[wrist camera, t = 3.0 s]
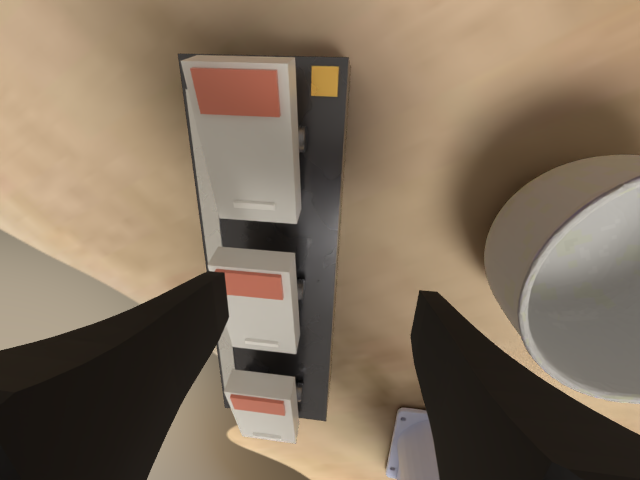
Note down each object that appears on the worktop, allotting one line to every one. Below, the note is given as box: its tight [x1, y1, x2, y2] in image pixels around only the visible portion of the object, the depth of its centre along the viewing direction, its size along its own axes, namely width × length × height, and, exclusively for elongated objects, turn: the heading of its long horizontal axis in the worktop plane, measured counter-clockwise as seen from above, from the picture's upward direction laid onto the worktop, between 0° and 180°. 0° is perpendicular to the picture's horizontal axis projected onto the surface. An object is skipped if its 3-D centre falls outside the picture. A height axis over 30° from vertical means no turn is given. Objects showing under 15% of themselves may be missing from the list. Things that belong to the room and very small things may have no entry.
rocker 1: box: [181, 55, 301, 224], centre depth 14 cm, size 7×4×2 cm, turn 178°
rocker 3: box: [224, 369, 299, 444], centre depth 21 cm, size 7×4×2 cm, turn 178°
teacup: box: [484, 155, 640, 404], centre depth 15 cm, size 14×11×8 cm
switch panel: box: [178, 54, 351, 421], centre depth 20 cm, size 24×8×5 cm, turn 178°
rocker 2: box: [207, 247, 300, 354], centre depth 17 cm, size 7×4×2 cm, turn 178°
